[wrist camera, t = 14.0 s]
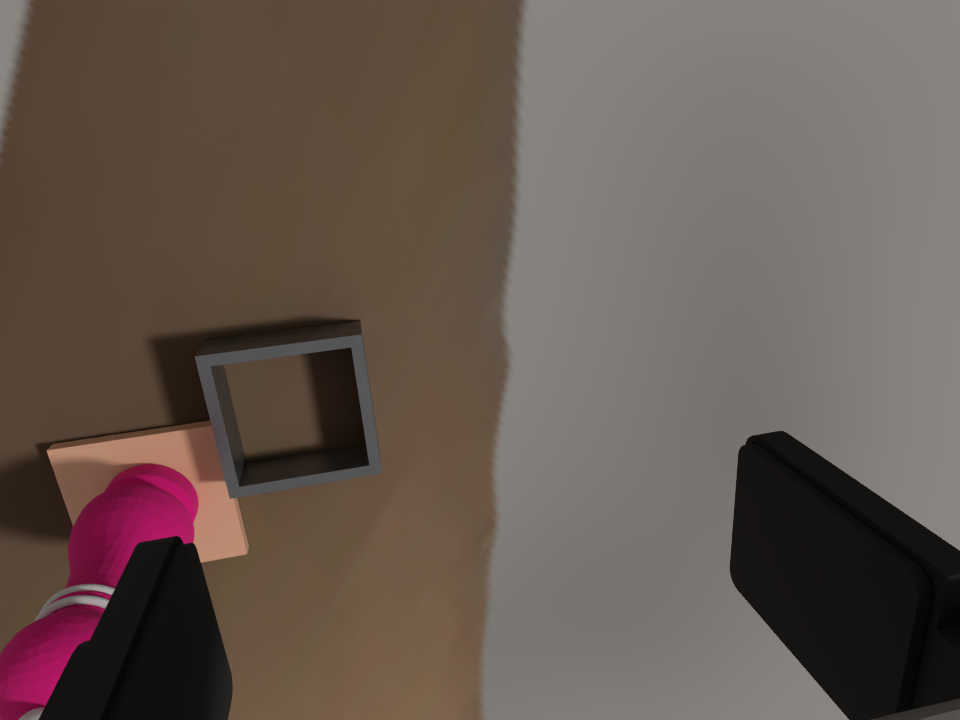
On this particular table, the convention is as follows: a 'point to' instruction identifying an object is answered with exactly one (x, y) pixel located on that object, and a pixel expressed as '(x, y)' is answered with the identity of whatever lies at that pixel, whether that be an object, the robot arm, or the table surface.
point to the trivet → (178, 447)
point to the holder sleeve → (296, 467)
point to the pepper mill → (93, 578)
